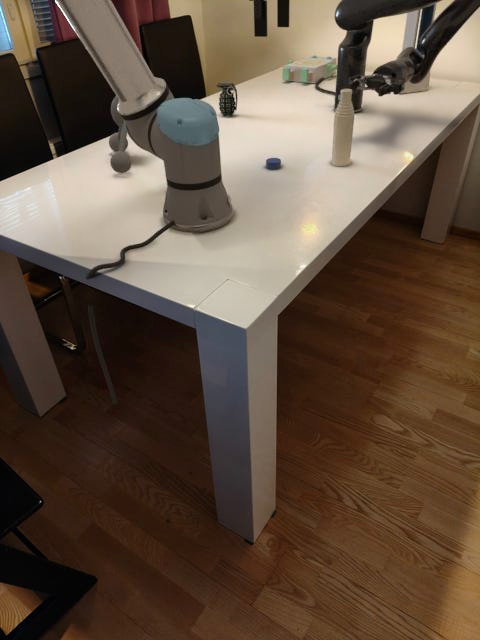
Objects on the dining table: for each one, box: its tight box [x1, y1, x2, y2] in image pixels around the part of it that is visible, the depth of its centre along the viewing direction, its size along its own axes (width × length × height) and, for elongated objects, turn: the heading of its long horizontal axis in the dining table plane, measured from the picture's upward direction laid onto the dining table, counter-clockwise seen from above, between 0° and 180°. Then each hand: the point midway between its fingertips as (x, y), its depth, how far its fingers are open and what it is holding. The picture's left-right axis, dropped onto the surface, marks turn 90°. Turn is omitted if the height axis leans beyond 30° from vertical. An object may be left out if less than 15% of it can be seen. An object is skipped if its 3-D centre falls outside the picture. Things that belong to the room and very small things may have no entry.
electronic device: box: [396, 3, 438, 94], centre depth 175 cm, size 12×8×30 cm, turn 105°
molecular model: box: [108, 95, 133, 174], centre depth 130 cm, size 24×22×30 cm
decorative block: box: [282, 55, 338, 84], centre depth 207 cm, size 26×6×20 cm
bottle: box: [330, 89, 355, 167], centre depth 124 cm, size 5×5×18 cm
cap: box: [265, 157, 282, 170], centre depth 129 cm, size 4×4×2 cm
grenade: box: [215, 82, 238, 117], centre depth 166 cm, size 7×6×10 cm
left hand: (272, 31), depth 110 cm, fingers open, 13 cm apart
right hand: (364, 90), depth 127 cm, fingers open, 8 cm apart
